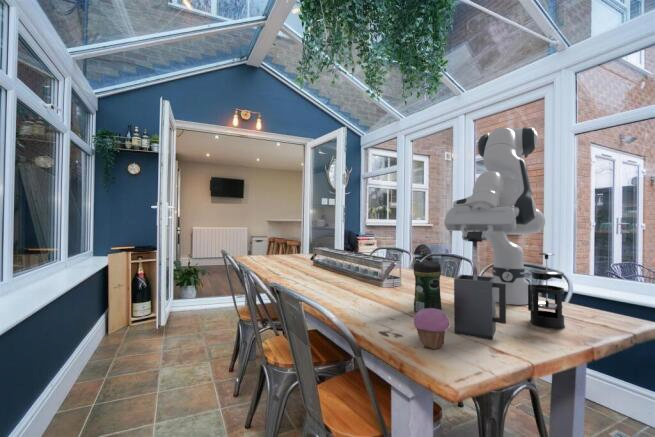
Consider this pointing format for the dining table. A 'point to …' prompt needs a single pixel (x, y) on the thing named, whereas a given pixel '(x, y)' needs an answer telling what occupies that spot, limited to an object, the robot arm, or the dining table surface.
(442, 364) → the dining table surface
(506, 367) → the dining table surface
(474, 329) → the press pot
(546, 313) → the french press
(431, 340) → the cupcake
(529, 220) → the robot arm
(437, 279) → the coffee jar
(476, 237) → the plunger
